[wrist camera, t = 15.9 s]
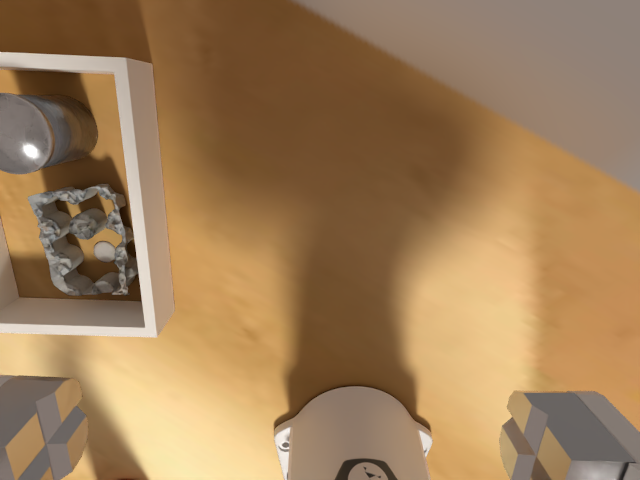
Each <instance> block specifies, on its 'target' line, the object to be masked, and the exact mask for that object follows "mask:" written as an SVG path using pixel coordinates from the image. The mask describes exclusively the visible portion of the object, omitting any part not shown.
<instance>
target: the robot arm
mask: <svg viewBox="0 0 640 480" xmlns="http://www.w3.org/2000/svg"><path fill="white" fill-rule="evenodd" d="M82 397H83V395H82V391H81V387H80V383H79V381H77V380H75V379H73V378H59V377H40V376H20V375H19V376H11V375H0V480H60V479H62V478H63V477H65V476H66V475H68V474H69V473H71V472H72V471H73V470H74V468H75V466H76V465H77V463H78V462H79V460H80V458H81V457H82V454H83V451H84V448H85V445H86V442H87V439H88V421H87V416H86V415H85V414H84V413H83V412H82V411H81V410H80V409H79V408H78V407H77V406H76V405H77V404H78V402H79V401H80V399H81V398H82ZM507 409H508V410H509V412H510V414H511V415H512V418H511V419H510V420H508V421H507V422H506V423H505V424H504V425H503V426H502V429H501V434H500V439H499V443H500V454H501V458H502V462H503V465H504V468H505V470H506V472H507V474H508V476H509V478H510V480H640V432H639V431H638V430H637V429H636V428H635V427H634V426H633V425H632V424H631V423H630V422H629V421H628V420H627V419H626V418H625V417H624V416H623V415H622V414H621V413H620V412H619V411H618V410H617V409H616V408H615V407H614V406H613V405H612V404H611V403H610V402H609V401H608V400H607V399H606V398H605V397H604V396H603V395H601V394H599V393H597V392H595V391H567V392H559V391H514V392H513V393H512V394H511V396H510V397H509V401H508V405H507ZM274 441H275V445H276V449H277V453H278V457H279V461H280V465H281V469H282V473H283V477H284V480H431V478H430V474H429V470H428V466H427V461H426V457H427V454H428V452H429V450H430V447H431V445H432V442H433V440H432V435H431V432H430V431H429V430H428V429H427V428H426V427H424V426H423V425H421V424H420V423H418V422H416V421H415V420H414V419H413V418H412V417H411V416H410V414H409V413H408V411H407V410H406V408H405V407H404V406H403V405H402V404H401V403H400V402H399V401H398V400H397V399H395V398H394V397H392V396H391V395H389V394H387V393H385V392H383V391H380V390H377V389H373V388H369V387H361V386H350V387H342V388H337V389H333V390H330V391H327V392H325V393H323V394H321V395H319V396H317V397H316V398H314V399H313V400H311V401H310V402H309V403H308V404H307V405H306V406H305V407H304V408H303V409H302V410H301V411H300V412H299V413H298V414H297V415H296V416H295V417H294V418H292V419H290V420H288V421H286V422H284V423H282V424H280V425H279V426H277V427H276V428H275V430H274ZM285 442H287V443H285Z"/></svg>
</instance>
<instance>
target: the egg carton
mask: <svg viewBox="0 0 640 480" xmlns="http://www.w3.org/2000/svg"><path fill="white" fill-rule="evenodd" d="M98 191H99V194H100V196H102V197H104V198H105V199H106V200H107V199H112V200H113V202H114V204H115V209H114V210H113V211H112V212H111V213H110V214H109V215H108V219H107V217H106V215H105V213H104V212H103V211H101V210H99V209H96V208H92V209H88V210H86V211H84V212H82V213H80V214H77V215H76V216H75V217H73V218H71V216H70V215H68V214H67V213H65V212H62V211H58V210H57V207H56V204H55V201H56V200H62V201H68V202H69V203H70V204H73V205H74V204H79V203H80V202H82V201H84V200H86V199H89V198H91V197H93V196H95V195H96V194H97V192H98ZM28 201H29V203H30V205H31V207H32V209H33V212H34V214H35V215H36V216H37V219H38V223H39V224H38V227H39V228H40V230H41V232H40V236H39V238H40V240H41V242H42V244H43V246H44V250H45V254H46V257H47V259H48V261H49V267H50V274H51V280H52V282H53V284H54V285H55V286H56V287H57V288H58V289H59V290H61V291H62V292H64V293H65V294H67V295H76V296H81V295H88V294H92V295H97V294H100V293H108V292H112V295H120V294H124V295H125V296H126V295H129V294H130V293H128V287H127V286H129V285H130V284H131V283H132V282H133V281H134V280H135V275H136V274H138V273H139V272H138V264H137V259H136V258H134V257H132V256H131V255H130V254H129V253H128V251H127V244H128V243H129V242H130V241H131V240H132V239H134V234H133V232H132V230H131V228H129V227H126V226H124V225H123V224H122V220H121V217H120V214H119V209H120V208H121V207H123V206H125V205H126V202H125V198H124V196H123V195H122V194H118V193H116V192H114V191H113V190H112V189H111V187H110V186H109V184H99V185H96V186H94V187H90V188H87V189H85V190H79V189H74V187H64V188H61V189H58V190H56V191H48V192H44V193H40V194H36V195H33V196H29V197H28ZM105 228H107V229H111V230H113V231H115V232H116V233H117V234H120V235H122V238H123V240H122V242H121V243H120V244H119V245H118V246H117V247H116V249H115V247H114V246H113V245H112V244H111V243H109V242H106V241H101V242H98V243H97V244H96V245H95V247H94V255H95V257H96V258H97V259H98V260H100V261H102V262H112V261H113V260H114V259H115V261H114V263H115V264H116V265H117V267H118V268H119V274H118V273H116V272H110V273H107V274H105V275H104V276H103V277H101V278H100V279H99V280H98V281H96V282H95V283H93V282H92V281H91V279H89V278H88V277H87V276H84V275H79V274H78V272H77V269H76V267H77V266H78V265H80V264H81V263H82V262H83V260H84V254H83V252H82V250H81V249H80V248H79V247H77V246H76V245H72V244H69V243H68V241H67V238H66V234H68V233H71V234H74V235H75V236H76V237H78V238H80V239H87V240H88V239H90V238H92V237H93V236H94V235H95V234H97V233H99V232H100V231H102V230H103V229H105Z"/></svg>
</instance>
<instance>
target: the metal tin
mask: <svg viewBox="0 0 640 480" xmlns="http://www.w3.org/2000/svg"><path fill="white" fill-rule="evenodd" d="M97 138H98V130H97V125H96V122H95V120H94V118H93V116H92V114H91V113H90V111H89V110H88V109H87V108H86V107H85V106H84V105H83V104H82V103H80V102H79V101H77V100H75V99H73V98H71V97H67V96H62V95H16V94H11V93H0V170H2V171H4V172H7V173H11V174H27V173H31V172H34V171H37V170H40V169H41V168H45V167H49V166H53V165H57V164H61V163H65V162H69V161H73V160H77V159H81V158H84V157H86V156H87V155H89V154H90V153H91V152H92V150H93V149H94V147H95V145H96V143H97Z"/></svg>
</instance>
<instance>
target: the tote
mask: <svg viewBox="0 0 640 480" xmlns="http://www.w3.org/2000/svg"><path fill="white" fill-rule="evenodd" d="M0 69H4V70H26V71H49V72H71V73H93V74H114V75H115V84H116V92H117V100H118V108H119V116H120V125H121V133H122V141H123V149H124V157H125V166H126V174H127V182H128V190H129V199H130V207H131V215H132V223H133V231H134V240H135V248H136V256H137V264H138V272H139V281H140V289H141V297H142V301H117V300H85V299H54V298H22V297H19V294H18V289H17V285H16V281H15V277H14V272H13V268H12V264H11V260H10V256H9V251H8V247H7V243H6V239H5V234H4V230H3V226H2V222H1V218H0V333H25V334H59V335H92V336H126V337H158V335H159V334H160V332H161V331H162V329H163V328H164V326H165V325H166V323H167V322H168V320H169V319H170V317H171V316H172V314H173V313H174V311H175V305H174V295H173V284H172V273H171V262H170V251H169V240H168V229H167V218H166V207H165V196H164V185H163V174H162V163H161V152H160V142H159V131H158V120H157V109H156V98H155V87H154V76H153V65H152V63H147V62H143V61H139V60H134V59H130V58H122V57H100V56H78V55H56V54H34V53H12V52H0Z"/></svg>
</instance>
